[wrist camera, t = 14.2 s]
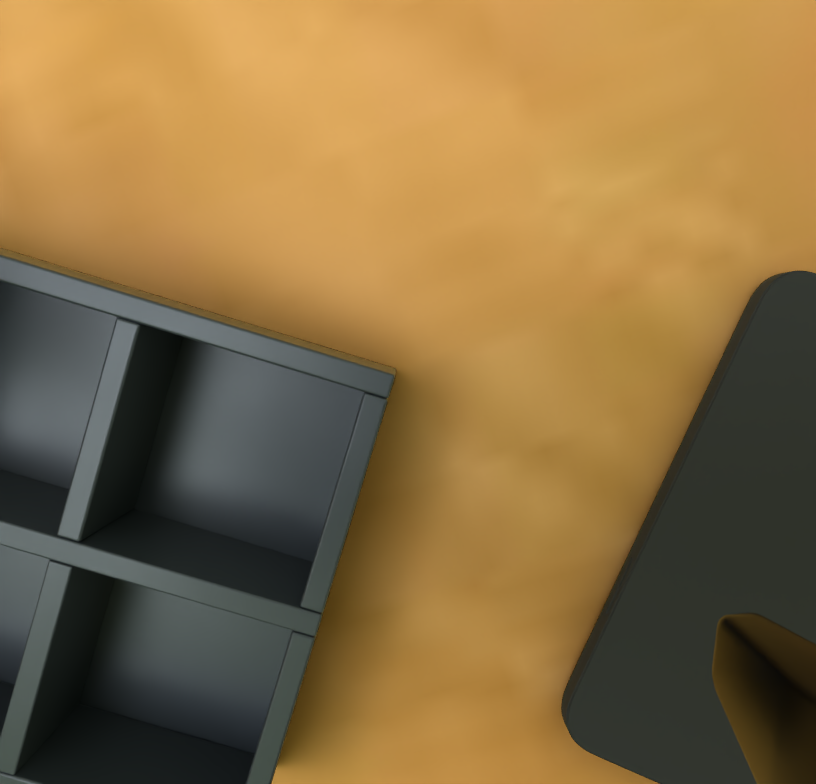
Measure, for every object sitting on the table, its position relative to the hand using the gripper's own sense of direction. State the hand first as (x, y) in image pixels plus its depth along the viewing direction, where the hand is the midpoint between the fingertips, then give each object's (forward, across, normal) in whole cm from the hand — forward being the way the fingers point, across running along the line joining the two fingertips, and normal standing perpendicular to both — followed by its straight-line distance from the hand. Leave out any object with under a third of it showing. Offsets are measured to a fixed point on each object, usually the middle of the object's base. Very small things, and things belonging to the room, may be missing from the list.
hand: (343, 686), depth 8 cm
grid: (+13, +9, +3) cm, 16 cm away
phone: (+11, -12, +6) cm, 17 cm away
